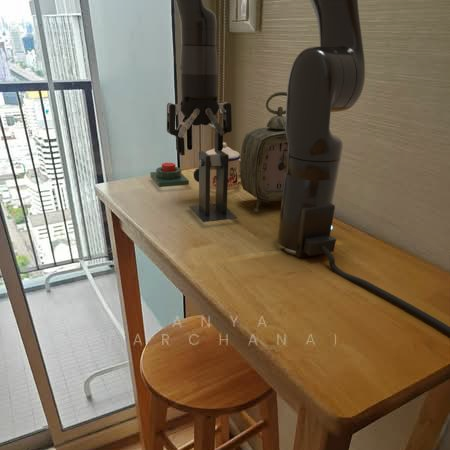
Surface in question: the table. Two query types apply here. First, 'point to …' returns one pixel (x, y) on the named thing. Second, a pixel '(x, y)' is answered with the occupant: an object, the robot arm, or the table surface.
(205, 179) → the bracket
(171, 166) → the button
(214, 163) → the lever
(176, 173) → the button box
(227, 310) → the table surface
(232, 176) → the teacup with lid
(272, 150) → the tabletop clock
